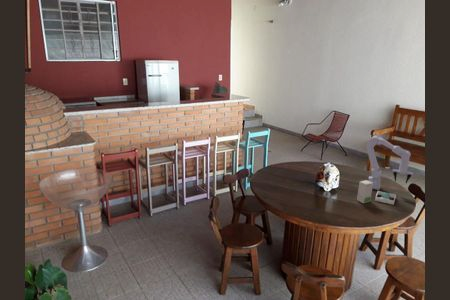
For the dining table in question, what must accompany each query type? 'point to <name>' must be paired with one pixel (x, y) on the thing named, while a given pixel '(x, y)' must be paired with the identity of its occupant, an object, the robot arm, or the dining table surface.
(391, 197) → the white square frame
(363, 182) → the skincare box
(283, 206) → the dining table surface
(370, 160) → the robot arm
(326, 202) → the dining table surface
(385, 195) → the ball
